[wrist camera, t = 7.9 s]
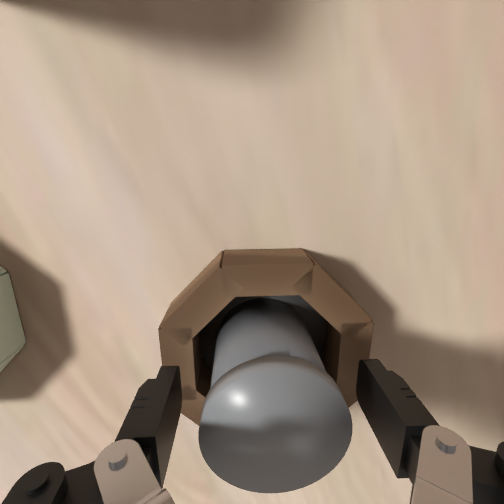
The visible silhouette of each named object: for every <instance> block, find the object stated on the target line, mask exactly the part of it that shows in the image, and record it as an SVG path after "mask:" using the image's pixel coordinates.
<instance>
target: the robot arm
mask: <svg viewBox="0 0 504 504" xmlns="http://www.w3.org/2000/svg"><path fill="white" fill-rule="evenodd" d="M356 395H357V399H358V402H359V405H360V407H361V409H362V411H363V413H364V414H365V416H366V418H367V420H368V422H369V424H370V426H371V428H372V430H373V432H374V434H375V436H376V438H377V440H378V442H379V444H380V446H381V448H382V449H383V451H384V453H385V455H386V457H387V459H388V461H389V463H390V465H391V467H392V469H393V471H394V473H395V475H396V477H397V478H409V479H410V481H411V482H412V484H413V485H412V491H411V497H410V503H409V504H504V442H501V443H500V444H499V445H498V448H497V451H496V452H494V451H489V450H485V449H481V448H476V447H472V446H469V445H468V444H467V443H466V441H465V440H464V439H463V438H462V437H461V436H459V435H458V434H457V433H455V432H454V431H452V430H450V429H448V428H445V427H442V426H440V425H439V424H438V423H437V422H436V420H435V419H434V418H433V416H432V415H431V414H430V413H429V411H428V410H427V409H426V408H425V406H424V405H423V404H422V402H421V401H420V400H419V399H418V398H417V397H416V395H415V394H414V392H413V391H412V390H410V387H409V386H408V385H407V383H406V382H405V381H404V380H403V378H401V377H400V376H399V375H397V374H396V373H394V372H393V371H387V370H386V369H385V367H384V366H383V365H382V363H381V362H380V361H379V360H378V359H363V360H360V361H359V364H358V374H357V383H356ZM181 408H182V387H181V376H180V367H179V366H161V368H160V370H159V373H158V375H157V378H156V379H148V380H147V381H146V382H145V383H144V384H143V385H142V386H141V387H140V388H139V389H138V392H137V394H136V396H135V398H134V400H133V403H132V405H131V408H130V409H129V411H128V414H127V416H126V418H125V420H124V422H123V424H122V427H121V429H120V431H119V433H118V435H117V438H116V440H115V442H114V443H112V444H110V445H109V446H107V447H106V448H105V449H104V450H103V451H101V453H100V454H99V455H98V457H97V458H96V460H95V461H93V462H91V463H89V464H86V465H83V466H81V467H78V468H75V469H72V470H69V471H66V472H65V470H64V467H63V465H61V464H60V463H57V462H48V463H44V464H41V465H39V466H37V467H35V468H33V469H31V470H30V471H28V472H27V473H25V474H24V475H23V476H22V477H21V478H20V479H19V480H18V481H17V482H16V483H15V484H14V486H13V487H12V489H11V490H10V492H9V493H8V495H7V496H6V498H5V499H4V501H3V502H2V504H175V503H174V501H173V499H172V497H171V495H170V493H169V492H168V491H167V489H163V490H162V488H163V484H164V479H165V475H166V471H167V467H168V463H169V458H170V454H171V450H172V446H173V442H174V438H175V433H176V429H177V425H178V421H179V417H180V413H181Z"/></svg>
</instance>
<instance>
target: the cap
mask: <svg viewBox="0 0 504 504" xmlns="http://www.w3.org/2000/svg"><path fill="white" fill-rule="evenodd" d="M351 436H352V419H351V415H350V411H349V409H348V406H347V404H346V402H345V400H344V398H343V396H342V393H341V391H340V389H339V387H338V385H337V384H336V383H335V381H334V380H333V378H332V377H331V376H330V375H329V374H328V373H327V372H326V370H325V368H324V366H323V363H322V361H321V359H320V356H319V354H318V352H317V349H316V347H315V345H314V343H313V340H312V338H311V336H310V333H309V331H308V329H307V326H306V324H305V322H304V320H303V318H302V317H301V315H300V314H299V313H298V312H297V311H296V310H295V309H294V308H293V307H292V306H290V305H288V304H287V303H285V302H282V301H280V300H276V299H271V298H256V299H252V300H248V301H245V302H243V303H241V304H239V305H237V306H236V307H234V308H233V309H232V310H230V311H229V312H228V313H227V315H226V316H225V317H224V318H223V320H222V322H221V324H220V326H219V329H218V332H217V339H216V347H215V354H214V362H213V370H212V378H211V386H210V390H209V392H208V394H207V396H206V398H205V401H204V404H203V407H202V413H201V420H200V427H199V446H200V450H201V453H202V456H203V458H204V460H205V461H206V463H207V464H208V466H209V467H210V468H211V470H212V471H213V472H214V473H215V474H216V475H217V476H219V477H220V478H221V479H223V480H224V481H226V482H228V483H229V484H231V485H233V486H236V487H238V488H241V489H244V490H248V491H253V492H259V493H281V492H288V491H292V490H296V489H299V488H303V487H305V486H308V485H310V484H312V483H314V482H316V481H318V480H320V479H321V478H322V477H324V476H325V475H327V474H328V473H329V472H330V471H331V470H333V469H334V468H335V467H336V465H337V464H338V463H339V462H340V461H341V459H342V458H343V457H344V455H345V453H346V451H347V449H348V447H349V444H350V441H351Z"/></svg>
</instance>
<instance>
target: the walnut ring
mask: <svg viewBox="0 0 504 504" xmlns="http://www.w3.org/2000/svg"><path fill="white" fill-rule="evenodd" d="M256 298H271V299H276V300H280V301H282V302H285V303H287V304H288V305H290V306H292V307H293V308H294V309H295V310H296V311H297V312H298V313H299V314H300V315H301V317H302V318H303V320H304V322H305V324H306V326H307V329H308V331H309V333H310V336H311V338H312V340H313V343H314V345H315V347H316V349H317V352H318V354H319V356H320V359H321V361H322V363H323V366H324V368H325V370H326V372H327V373H328V374H329V375H330V376H331V377H332V378H333V380H334V381H335V383H336V384H337V385H338V387H339V389H340V391H341V393H342V396H343V398H344V400H345V402H346V404H347V406H348V408H349V407H350V406H351V405H352V404H354V403H355V402H356V401H357V400H358V399H357V395H356V383H357V374H358V364H359V361H360V360H363V359H369V356H370V347H371V339H372V330H373V321H372V319H371V318H370V317H369V316H368V314H367V313H366V312H365V311H364V310H363V309H362V308H361V307H360V306H359V304H358V303H357V302H356V301H355V300H354V299H353V298H352V297H351V296H350V295H349V294H348V293H347V292H346V291H345V290H344V289H343V288H342V287H341V286H340V285H339V284H338V283H337V282H336V281H335V280H334V279H333V278H332V277H331V276H330V275H329V274H328V273H327V272H326V271H325V270H324V269H323V268H322V267H321V266H320V265H319V264H318V263H317V262H316V261H315V260H314V259H313V258H312V257H311V256H310V255H309V254H308V253H307V252H306V251H305V250H302V248H297V249H246V250H224V252H223V251H222V252H221V253H220V254H219V255H218V256H217V257H216V258H215V259H214V260H213V261H212V262H211V263H210V264H209V265H208V266H207V267H206V268H205V269H204V270H203V271H202V272H201V273H200V274H199V275H198V276H197V277H196V278H195V279H194V280H193V281H192V282H191V283H190V284H189V285H188V286H187V287H186V288H185V289H184V290H183V291H182V292H181V293H180V294H179V295H178V296H177V297H176V298H175V299H174V300H173V301H172V302H171V304H170V306H169V308H168V310H167V312H166V314H165V316H164V318H163V320H162V322H161V324H160V326H159V329H158V331H159V340H160V349H161V359H162V366H179V367H180V376H181V387H182V408H181V413H182V414H183V415H185V416H186V417H188V418H189V419H190V420H192V421H193V422H195V423H196V424H197V425H199V426H200V420H201V413H202V407H203V404H204V401H205V398H206V396H207V394H208V392H209V390H210V386H211V378H212V370H213V362H214V354H215V347H216V339H217V332H218V329H219V326H220V324H221V322H222V320H223V318H224V317H225V316H226V315H227V313H228V312H229V311H230V310H232V309H233V308H234V307H236V306H237V305H239V304H241V303H243V302H245V301H248V300H252V299H256ZM324 318H325V319H324ZM202 355H203V358H204V360H205V361H204V360H203V359H202Z"/></svg>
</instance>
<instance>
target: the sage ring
mask: <svg viewBox="0 0 504 504" xmlns="http://www.w3.org/2000/svg"><path fill="white" fill-rule="evenodd" d="M6 272H7V270H5V269H4V268H2V267H1V266H0V372H1V371H2V370H3V369H4V368H5V367H6V365H7V364H8V363H9V362H10V361H11V360H12V359H13V358H14V356H15V355H16V354H17V353H18V352H19V351H20V350H21V349H22V348H23V346H24V345H25V343H26V340H25V336H24V332H23V328H22V324H21V320H20V316H19V312H18V308H17V304H16V300H15V296H14V292H13V288H12V284H11V280H10V276H9V273H6Z"/></svg>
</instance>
